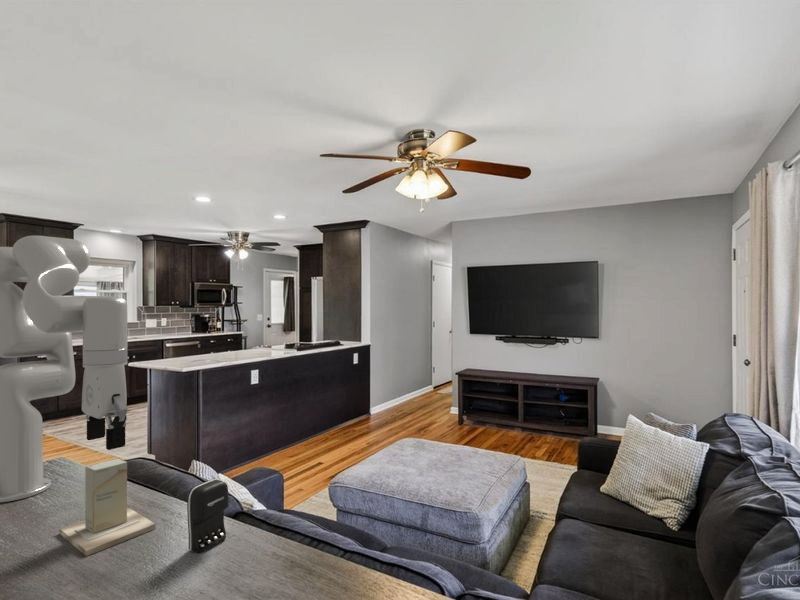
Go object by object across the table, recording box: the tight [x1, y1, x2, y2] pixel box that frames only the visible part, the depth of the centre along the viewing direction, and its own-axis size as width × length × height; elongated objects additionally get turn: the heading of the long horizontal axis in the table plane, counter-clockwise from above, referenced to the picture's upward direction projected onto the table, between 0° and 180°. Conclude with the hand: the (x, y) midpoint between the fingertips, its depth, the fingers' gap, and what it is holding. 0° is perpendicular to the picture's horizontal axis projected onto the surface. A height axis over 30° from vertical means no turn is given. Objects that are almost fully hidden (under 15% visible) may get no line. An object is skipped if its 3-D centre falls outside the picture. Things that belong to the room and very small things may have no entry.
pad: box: [59, 506, 157, 557], centre depth 89 cm, size 14×12×1 cm
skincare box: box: [84, 457, 128, 533], centre depth 89 cm, size 6×4×12 cm
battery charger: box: [186, 478, 230, 553], centre depth 83 cm, size 7×4×11 cm, turn 150°
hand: (105, 443), depth 89 cm, fingers open, 9 cm apart
